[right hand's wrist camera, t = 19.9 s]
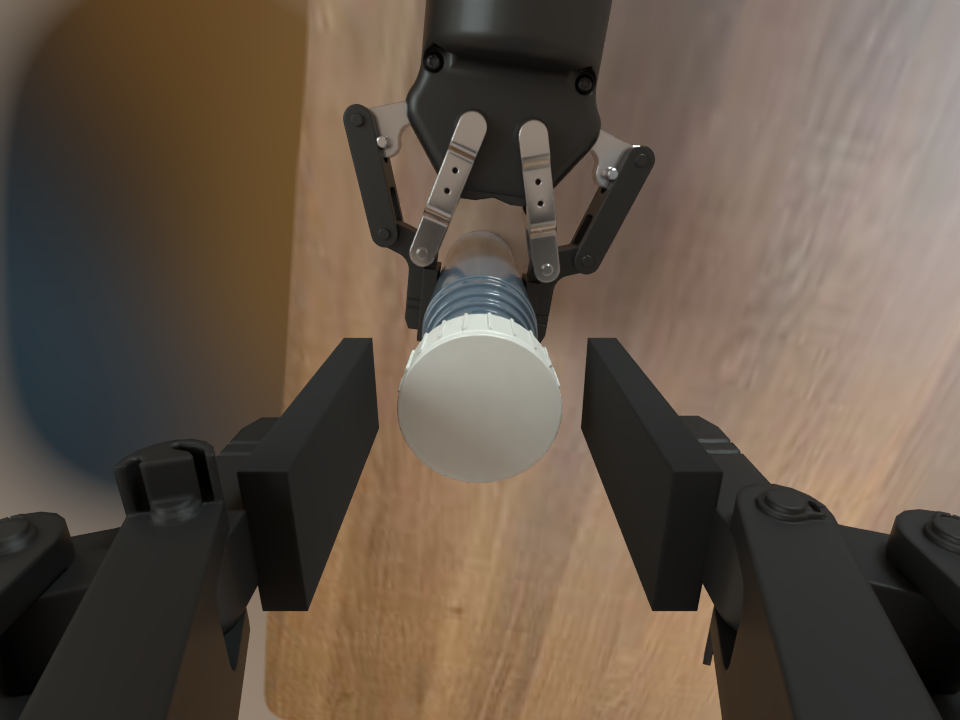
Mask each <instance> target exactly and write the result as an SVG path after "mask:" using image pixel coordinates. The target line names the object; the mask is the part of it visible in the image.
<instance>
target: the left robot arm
mask: <svg viewBox="0 0 960 720" xmlns="http://www.w3.org/2000/svg"><path fill="white" fill-rule="evenodd" d="M611 4H612V0H426V8H425V21H424V34H423V46H422V59H421V66H420V70H419V73H418V76H417V78H416V81H415V83H414V84H413V86H412V87H411V89H410V90H409V92H408V95H407V98H406V101H403V102H398V103H393V104H388V105H383V106H378V107H373V108H366V107H364V106H362V105H359V104H354V105H351V106H349V107H348V108H347V109H346V110H345V112H344V116H343V121H344V126H345V130H346V134H347V138H348V142H349V146H350V150H351V154H352V159H353V163H354V167H355V171H356V175H357V179H358V183H359V187H360V191H361V196H362V200H363V204H364V208H365V212H366V216H367V220H368V224H369V228H370V233H371V237H372V239H373V241H374V242H375V243H376V244H377V245H378V246H380V247H387V248H389V249H391V250H393V251H395V252H397V253H399V254H401V255H402V256H403V257H404V258H405V259H406V261H407V263H408V265H409V277H408V289H407V301H406V313H405V319H406V322H407V326H408V328H410V329H418V332H417V341H422V326H423V319H424V315H425V312H426V310H427V307H428V304H429V302H430V299H431V297H432V294H433V291H434V289H435V286H436V283H437V281H438V278H439V276H440V271H441V262H437V260H438V251H439V249H440V246H441V244H442V241H443V239H444V237H445V234H446V232H447V229H448V227H449V224H450V222H451V219H452V217H453V215H454V212H455V210H456V208H457V205H458V203H459V200H460V198H464V199H472V200H479V199H486V198H496V199H498V200H500V201H503V202H505V203H507V204H510V205H516V206H522V213H523V221H524V226H525V232H526V240H527V247H528V255H529V266H528V272H527V274H524V273H523V275H522V281H523V284H524V286H525V289H526V292H527V294H528V297H529V300H530V302H531V305H532V308H533V310H534V313H535V317H536V321H537V332H538V342H539V343H541V341H542V340H543V338H544V337H545V333H546V327H547V322H548V316H549V311H550V305H551V300H552V294H553V289H554V286H555V284H556V283H557V281H558V280H560V279H561V278H562V277H565V276H568V275H573V274H577V273H582V274H591V273H593V272H595V271H596V270H597V269H598V267H599V266H600V264H601V262H602V260H603V258H604V256H605V254H606V253H607V251H608V249H609V247H610V245H611V243H612V241H613V240H614V238H615V236H616V234H617V232H618V230H619V229H620V227H621V225H622V223H623V221H624V219H625V217H626V216H627V214H628V212H629V210H630V208H631V206H632V204H633V203H634V201H635V199H636V197H637V195H638V193H639V191H640V190H641V188H642V186H643V184H644V182H645V180H646V179H647V177H648V175H649V173H650V171H651V169H652V167H653V165H654V162H655V156H654V153H653V151H652V150H651V149H650V148H649V147H647V146H632V145H630V144H628V143H626V142H624V141H623V140H621V139H619V138H617V137H615V136H613V135H611V134H609V133H607V132H605V131H603V130H602V129H601V121H600V117H599V114H598V110H597V106H596V85H597V80H598V74H599V69H600V63H601V58H602V53H603V47H604V42H605V36H606V31H607V25H608V20H609V15H610V9H611ZM409 126H412V128H413V130H414V132H415V134H416V136H417V138H418V139H419V141H420V143H421V145H422V147H423V149H424V151H425V152H426V154H427V156H428V158H429V160H430V162H431V164H432V165H433V167H434V169H435V171H436V173H437V175H438V176H437V179H436V181H435V184H434V186H433V189H432V191H431V194H430V197H429V199H428V202H427V204H426V207H425V210H424V214H423V217H422V219H421V222H420V224H419V227H418V229H416V228H414V227H413V226H411V225H409V224H407V223H405V222H404V221H403V217H402V212H401V207H400V203H399V198H398V194H397V189H396V185H395V180H394V176H393V171H392V166H391V162H390V158H392V157H394V156H396V155H397V154H398V153H399V152H400V150H401V137H402V133H403V132H404V130H405V129H406V128H407V127H409ZM588 152H590V153H591V154H592V155H593V158H594V168H593V171H592V179H593V181H594V183H595V184H596V185H597V186H599V188H598V190H597V192H596V194H595V196H594V198H593V200H592V202H591V204H590V206H589V207H588V209H587V211H586V213H585V215H584V217H583V219H582V221H581V223H580V225H579V227H578V229H577V231H576V233H575V235H574V237H573V239H572V241H571V243H570V244H568V245H563V246H559V247H558V245H557V236H556V229H557V223H556V213H555V203H554V194H553V189H554V188H555V187H556V186H557V185H558V183H559V182H560V181H561V180H562V179H563V178H564V177H565V176H566V175H567V174H568V173H569V172H570V171H571V170H572V169H573V168H574V167H575V165H576V164H577V163H578V162H579V161H580V160H581V159H582V158H583V157H584V156H585V155H586V154H587V153H588Z"/></svg>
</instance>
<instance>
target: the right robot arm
mask: <svg viewBox="0 0 960 720" xmlns="http://www.w3.org/2000/svg"><path fill="white" fill-rule="evenodd" d="M378 429H379V422H378V409H377V396H376V383H375V370H374V356H373V343H372V338H344V339H343V340H342V341H341V342H340V344H339V345H338V346H337V347H336V349H335V350H334V351H333V352H332V354H331V355H330V356H329V357H328V359H327V360H326V361H325V362H324V364H323V365H322V366H321V367H320V369H319V370H318V371H317V372H316V373H315V375H314V376H313V377H312V378H311V380H310V381H309V382H308V383H307V385H306V386H305V387H304V388H303V390H302V391H301V392H300V393H299V395H298V396H297V397H296V398H295V400H294V401H293V402H292V403H291V405H290V406H289V407H288V408H287V410H286V411H285V412H284V413H283V415H282V416H281V417H280V418H260V419H259V420H257V421H255V422H253V423H251V424H250V425H248V426H246V427H245V428H243V429H242V430H241V431H240V432H239V433H238V434H237V435H236V436H235V437H234V438H233V439H232V440H231V442H230V445H227V446H226V447H225V448H224V449H223V450H222V451H221V453H220V456H217V457H215V452H214V447H213V446H212V445H210V444H209V443H207V442H205V441H200V440H194V439H186V440H173V441H168V442H163V443H158V444H155V445H152V446H149V447H146V448H143V449H141V450H138V451H136V452H134V453H132V454H131V455H129V456H127V457H125V458H123V459H122V460H121V461H120V462H119V463H118V464H117V465H116V466H115V467H114V468H113V471H114V474H115V478H116V481H117V485H118V488H119V492H120V495H121V499H122V502H123V506H124V509H125V513H126V516H127V517H126V518H125V520H124V522H123V524H122V526H121V527H119V528H115V529H110V530H104V531H99V532H94V533H88V534H83V535H78V536H73V537H71V536H70V533H69V530H68V527H67V524H66V521H65V519H64V518H63V517H61V516H60V515H58V514H57V513H49V512H36V513H28V514H18V515H14V516H11V517H10V518H8V517H7V518H3V519H0V720H238V716H239V708H240V700H241V693H242V686H243V678H244V671H245V663H246V656H247V648H248V641H249V633H250V625H249V619H248V614H247V609H246V606H247V604H248V603H249V601H250V599H251V597H252V595H253V593H254V591H255V589H256V588H257V586H258V588H259V593H260V599H261V604H262V609H263V611H308V609H309V606H310V604H311V601H312V599H313V596H314V593H315V591H316V588H317V586H318V583H319V581H320V578H321V575H322V573H323V570H324V568H325V565H326V563H327V560H328V558H329V555H330V552H331V550H332V547H333V545H334V542H335V540H336V537H337V534H338V532H339V529H340V527H341V524H342V522H343V519H344V516H345V514H346V511H347V509H348V506H349V504H350V501H351V499H352V496H353V493H354V491H355V488H356V486H357V483H358V481H359V478H360V475H361V473H362V470H363V468H364V465H365V463H366V460H367V457H368V455H369V452H370V450H371V447H372V445H373V442H374V440H375V437H376V434H377V432H378ZM581 429H582V432H583V434H584V437H585V440H586V442H587V445H588V447H589V450H590V452H591V455H592V457H593V460H594V463H595V465H596V468H597V470H598V473H599V475H600V478H601V481H602V483H603V486H604V488H605V491H606V493H607V496H608V499H609V501H610V504H611V506H612V509H613V511H614V514H615V516H616V519H617V522H618V524H619V527H620V529H621V532H622V534H623V537H624V540H625V542H626V545H627V547H628V550H629V552H630V555H631V558H632V560H633V563H634V565H635V568H636V570H637V573H638V575H639V578H640V581H641V583H642V586H643V588H644V591H645V593H646V596H647V599H648V601H649V604H650V606H651V609H652V611H697V609H698V604H699V599H700V593H701V588H702V583H703V585H704V587H705V589H706V591H707V592H708V594H709V596H710V598H711V600H712V602H713V604H714V609H713V614H712V618H711V623H710V628H709V633H708V638H707V643H706V648H705V653H704V660H703V664H705V665H710V664H711V659H712V655H714V662H715V670H716V677H717V684H718V692H719V699H720V707H721V714H722V720H960V517H959V516H956V515H953V516H952V515H950V514H949V513H945V512H940V511H928V510H921V509H918V510H907V511H903V512H902V513H900V514H899V515H897V516H896V518H895V521H894V524H893V527H892V530H891V533H890V534H885V533H879V532H874V531H869V530H863V529H858V528H853V527H848V526H843V525H839V524H838V523H837V521H836V519H835V517H834V516H833V515H832V513H831V512H830V511H829V510H828V509H827V508H826V506H825V505H823V504H822V503H820V502H819V501H817V500H816V499H814V498H813V497H811V496H809V495H807V494H805V493H802V492H800V491H798V490H795V489H793V488H789V487H785V486H780V485H776V484H770V483H769V482H768V480H767V479H766V478H765V477H764V476H763V475H762V474H761V473H760V472H759V471H758V470H757V469H756V467H755V466H754V465H753V464H752V463H751V462H750V461H749V460H748V459H747V458H746V457H745V456H744V454H740V450H739V449H738V448H737V447H736V446H735V445H734V444H733V443H730V439H729V438H728V437H727V436H726V435H725V434H724V433H723V432H722V431H721V430H720V428H719V427H717V426H716V425H714V424H712V423H710V422H708V421H707V420H705V419H703V418H701V417H700V416H678V415H677V413H676V412H675V411H674V410H673V408H672V407H671V406H670V405H669V403H668V402H667V401H666V400H665V398H664V397H663V396H662V395H661V393H660V392H659V391H658V390H657V388H656V387H655V386H654V385H653V383H652V382H651V381H650V380H649V378H648V377H647V376H646V375H645V373H644V372H643V371H642V370H641V369H640V367H639V366H638V365H637V364H636V362H635V361H634V360H633V359H632V357H631V356H630V355H629V354H628V352H627V351H626V350H625V349H624V347H623V346H622V345H621V344H620V342H619V341H618V340H617V339H616V338H588V343H587V356H586V370H585V383H584V396H583V409H582V422H581Z"/></svg>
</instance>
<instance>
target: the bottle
mask: <svg viewBox="0 0 960 720" xmlns="http://www.w3.org/2000/svg"><path fill="white" fill-rule="evenodd" d="M488 312H489V313H491V315H495V316H500V317H503V318H506V319H509V320H510V318H512V319H513V320H514V322H515V323H517V324H519V325H521V326H522V327H523V328H525V329H526V330H528V331H530V330H531V331H532V332H533V335H534V337H535V338H536V339H537V340H538V332H537V321H536V317H535V313H534V310H533V308H532V305H531V302H530V300H529V297H528V294H527V292H526V289H525V286H524V284H523V281H522V278H521V276H520V273H519V270H518V268H517V265H516V262H515V260H514V257H513V254H512V252H511V250H510V248H509V246H508V245H507V244H506V242H505V241H504V240H503V239H501V238H500V237H499V236H497V235H495V234H493V233H490V232H486V231H474V232H470V233H467V234H465V235H463V236H461V237H460V238H459V239H457V240H456V241H455V242H454V244H453V245H452V246H451V248H450V250H449V252H448V255H447V257H446V260H445V262H444V265H443V268H442V270H441V273H440V276H439V278H438V281H437V283H436V286H435V289H434V291H433V294H432V297H431V299H430V302H429V304H428V307H427V310H426V312H425V315H424V319H423V326H422V339H423V337H424V334H425V333H429V332H431V331H432V330H433V329H434V328H436V327H437V326H439V325H441V324H442V321H443V320H446V321H448V320H451V319H453V318H456V317H460V316H464V313H468V315H470V314H488Z"/></svg>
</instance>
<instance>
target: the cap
mask: <svg viewBox="0 0 960 720" xmlns="http://www.w3.org/2000/svg"><path fill="white" fill-rule="evenodd" d="M559 389H561V387H560V384H559V381H558V378H557V375H556V373H555V370H554V367H553V366H552V363H551V361H550V358H549V355H548V353H547V350H546V348H545V347H542V346H541V344H540V343H539V342H538V340H537V339H536V338H535V337H534V335H533V332H532V331H531V330H530V331H528V330H526V329H525V328H523V327H522V326H521V325H519V324H517V323H515V322H514V320H513V319H512V318H510V320H509V319H506V318H503V317H500V316H495V315H491V313H489V312H488V314H470V315H468V313H464V316H460V317H456V318H453V319H451V320H448V321H446V320H443V321H442V324H441V325H439V326H437V327H436V328H434V329H433V330H432V331H431V332H429V333H425V334H424V337H423V339H422V341H421V342H420V343H419V345H418V346H417V348H416V349H415V351H414V350H412V352H411V355H410V357H409V360H408V363H407V365H406V368H405V372H404V375H403V378H402V381H401V383H400V386H399V389H398V392H399V396H398V404H397V413H398V421H399V425H400V429H401V432H402V434H403V437H404V439H405V441H406V442H407V444H408V446H409V447H410V449H411V450H412V451H413V453H414V454H415V455H416V456H417V457H418V458H419V459H420V460H421V461H422V462H423V463H424V464H425V465H427V466H428V467H429V468H431V469H433V470H434V471H436V472H437V473H439V474H442V475H444V476H446V477H449V478H452V479H455V480H458V481H463V482H471V483H489V482H496V481H501V480H504V479H508V478H511V477H513V476H516V475H518V474H520V473H522V472H524V471H525V470H527V469H528V468H530V467H531V466H533V465H534V464H535V463H536V462H537V461H538V460H540V459H541V458H542V456H543V455H544V454H545V453H546V452H547V451H548V449H549V448H550V446H551V445H552V443H553V441H554V439H555V437H556V435H557V433H558V429H559V426H560V422H561V416H562V401H561V394H560V391H559Z"/></svg>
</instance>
